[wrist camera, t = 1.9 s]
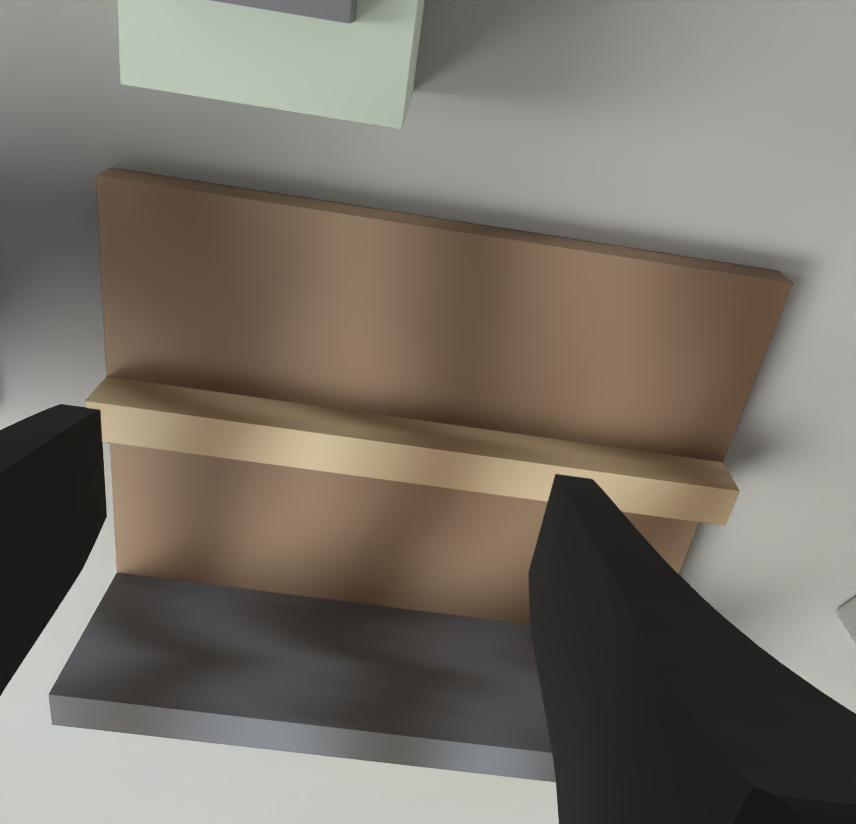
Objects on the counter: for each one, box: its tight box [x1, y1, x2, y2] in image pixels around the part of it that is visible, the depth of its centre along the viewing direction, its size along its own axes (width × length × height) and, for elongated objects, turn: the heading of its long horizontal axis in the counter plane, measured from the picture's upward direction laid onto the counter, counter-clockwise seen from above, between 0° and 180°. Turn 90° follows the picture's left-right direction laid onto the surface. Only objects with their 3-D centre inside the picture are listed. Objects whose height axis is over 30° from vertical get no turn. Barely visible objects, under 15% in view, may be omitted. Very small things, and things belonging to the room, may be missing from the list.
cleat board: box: [49, 168, 793, 782], centre depth 21 cm, size 18×14×6 cm
